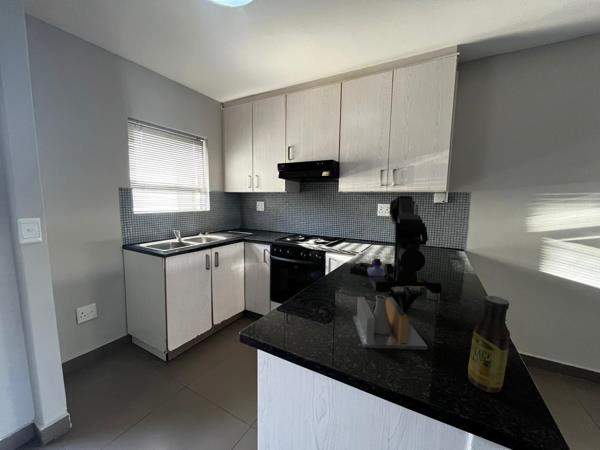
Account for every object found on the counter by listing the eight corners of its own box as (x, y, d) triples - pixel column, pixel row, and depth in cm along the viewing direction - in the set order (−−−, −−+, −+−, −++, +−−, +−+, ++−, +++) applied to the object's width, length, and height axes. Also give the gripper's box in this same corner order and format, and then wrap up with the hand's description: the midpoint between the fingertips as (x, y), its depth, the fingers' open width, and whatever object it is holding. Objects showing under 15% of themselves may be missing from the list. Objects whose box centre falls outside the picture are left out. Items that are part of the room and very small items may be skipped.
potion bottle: (378, 289, 110) (379, 262, 108) (362, 283, 116) (363, 258, 115) (389, 284, 115) (390, 259, 114) (373, 279, 122) (374, 255, 120)
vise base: (404, 319, 83) (406, 296, 82) (427, 349, 67) (429, 321, 66) (353, 318, 84) (354, 295, 83) (363, 347, 68) (364, 319, 67)
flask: (393, 337, 71) (395, 303, 70) (367, 333, 73) (368, 300, 72) (391, 324, 78) (393, 293, 77) (367, 321, 80) (368, 291, 79)
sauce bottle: (460, 374, 58) (468, 292, 55) (485, 373, 58) (494, 291, 56) (483, 397, 51) (493, 305, 49) (511, 395, 52) (523, 304, 50)
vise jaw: (390, 317, 82) (392, 294, 81) (407, 343, 68) (409, 314, 67) (384, 317, 82) (386, 293, 81) (399, 342, 68) (401, 314, 67)
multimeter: (360, 268, 142) (360, 259, 141) (395, 275, 130) (395, 266, 129) (349, 273, 132) (350, 264, 131) (386, 282, 120) (386, 272, 119)
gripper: (427, 255, 80) (424, 301, 82) (368, 254, 81) (366, 300, 83) (445, 264, 69) (441, 318, 71) (377, 263, 70) (374, 316, 72)
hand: (404, 312), depth 74 cm, fingers closed
